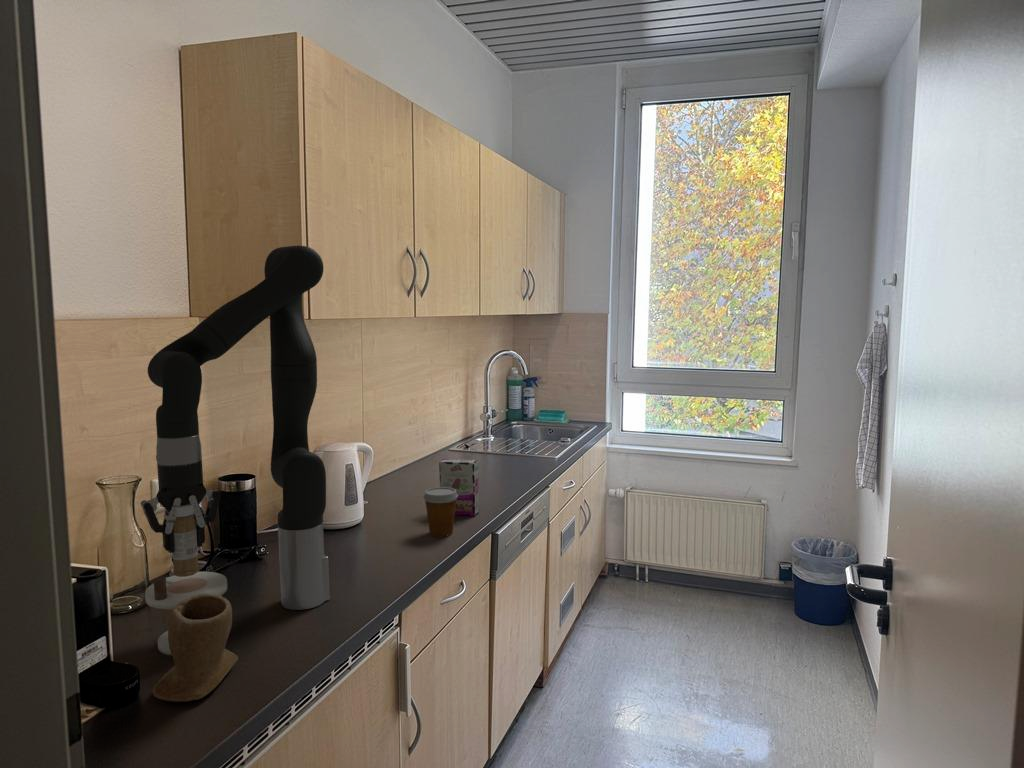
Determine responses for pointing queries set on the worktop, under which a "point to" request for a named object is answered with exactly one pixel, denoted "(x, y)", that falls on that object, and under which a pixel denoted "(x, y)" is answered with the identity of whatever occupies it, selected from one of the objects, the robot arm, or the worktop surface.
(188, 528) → the sprinkles bottle
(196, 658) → the stone cup
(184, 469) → the robot arm
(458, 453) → the worktop surface
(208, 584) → the turntable
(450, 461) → the candy bar box
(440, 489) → the disposable coffee cup
